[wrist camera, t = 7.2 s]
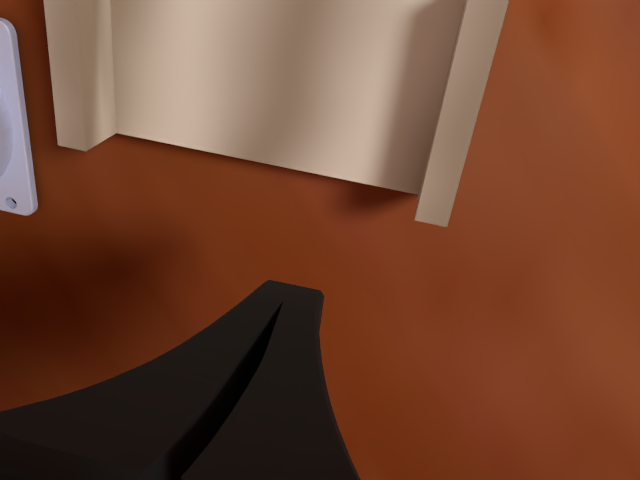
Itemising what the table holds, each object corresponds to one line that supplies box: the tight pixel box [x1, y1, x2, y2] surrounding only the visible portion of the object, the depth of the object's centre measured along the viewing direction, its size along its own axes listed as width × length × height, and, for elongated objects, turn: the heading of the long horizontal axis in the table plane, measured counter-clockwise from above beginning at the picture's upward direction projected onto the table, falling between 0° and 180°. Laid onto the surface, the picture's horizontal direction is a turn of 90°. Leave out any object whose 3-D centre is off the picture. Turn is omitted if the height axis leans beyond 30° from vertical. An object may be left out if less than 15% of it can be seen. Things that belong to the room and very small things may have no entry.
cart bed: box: [44, 0, 509, 227], centre depth 18 cm, size 13×8×4 cm, turn 83°
